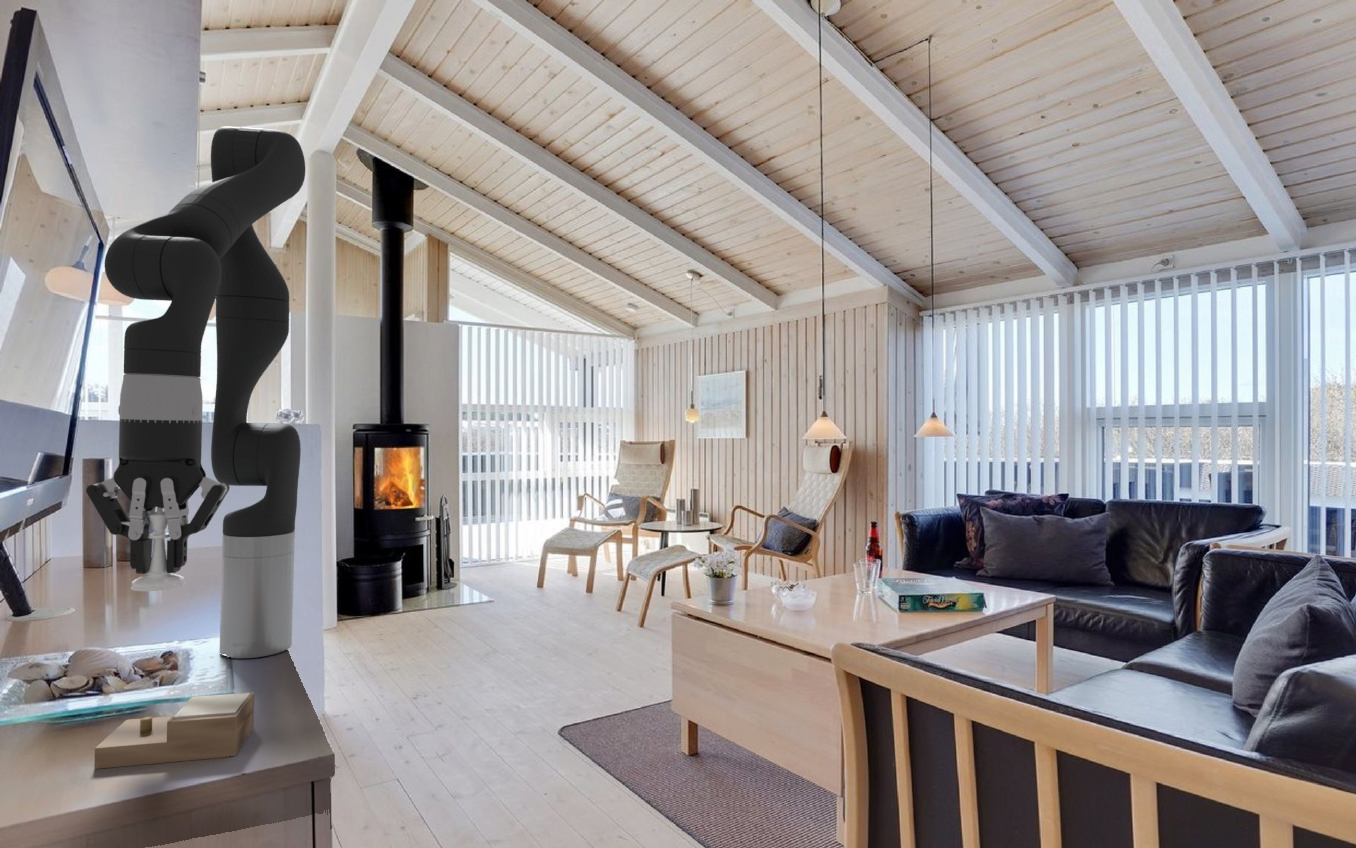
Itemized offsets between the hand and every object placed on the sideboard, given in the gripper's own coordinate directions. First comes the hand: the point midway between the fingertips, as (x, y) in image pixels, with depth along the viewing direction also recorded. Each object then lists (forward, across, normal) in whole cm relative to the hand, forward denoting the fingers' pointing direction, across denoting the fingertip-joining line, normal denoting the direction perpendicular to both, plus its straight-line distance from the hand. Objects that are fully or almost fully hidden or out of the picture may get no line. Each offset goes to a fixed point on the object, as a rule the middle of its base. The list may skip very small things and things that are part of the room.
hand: (158, 571), depth 82 cm
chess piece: (+2, 0, 0) cm, 2 cm away
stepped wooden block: (+17, -5, +8) cm, 19 cm away
